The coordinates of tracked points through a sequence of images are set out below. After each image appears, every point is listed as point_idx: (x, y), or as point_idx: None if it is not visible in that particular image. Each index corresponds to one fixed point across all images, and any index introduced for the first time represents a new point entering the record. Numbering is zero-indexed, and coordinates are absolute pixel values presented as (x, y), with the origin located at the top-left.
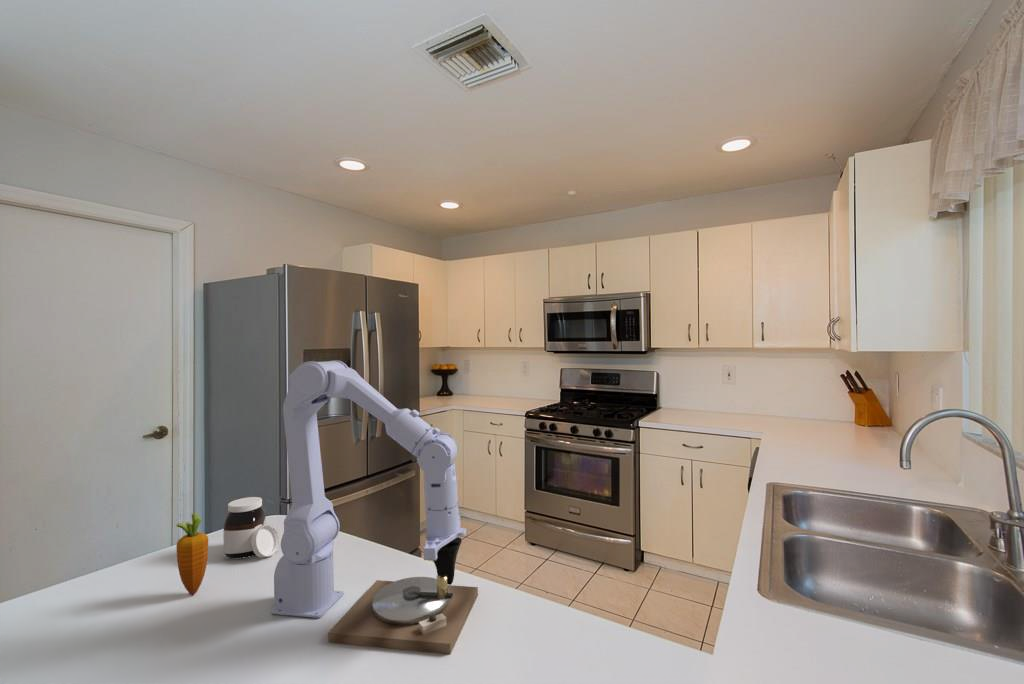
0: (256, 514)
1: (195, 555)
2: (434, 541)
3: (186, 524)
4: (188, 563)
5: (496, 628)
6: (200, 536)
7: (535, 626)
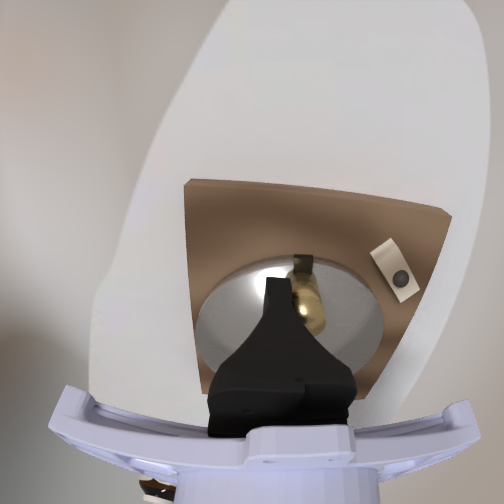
0: (161, 493)
1: None
2: (414, 467)
3: None
4: None
5: (360, 102)
6: None
7: (340, 5)
